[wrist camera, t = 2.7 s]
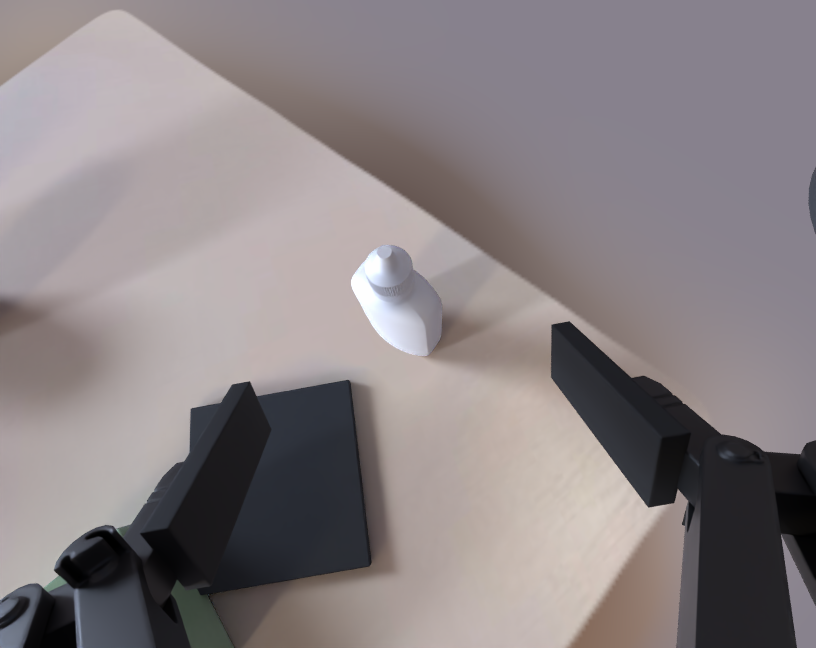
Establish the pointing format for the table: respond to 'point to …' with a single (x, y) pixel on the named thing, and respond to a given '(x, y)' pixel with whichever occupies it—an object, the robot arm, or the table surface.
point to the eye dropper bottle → (399, 301)
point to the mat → (298, 493)
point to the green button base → (188, 614)
